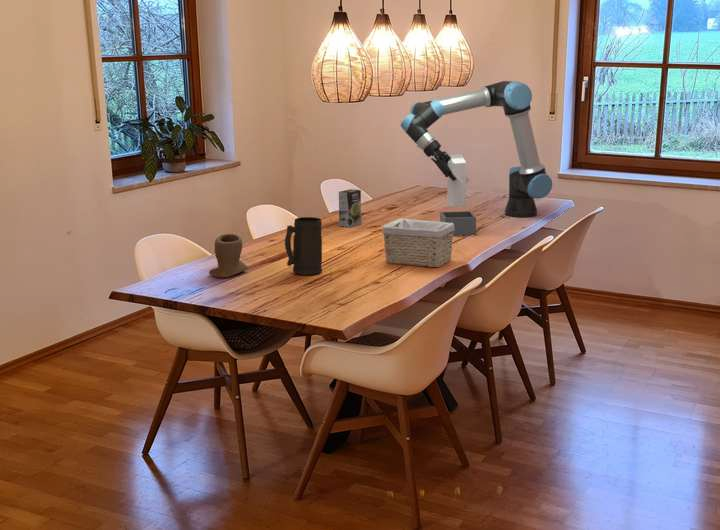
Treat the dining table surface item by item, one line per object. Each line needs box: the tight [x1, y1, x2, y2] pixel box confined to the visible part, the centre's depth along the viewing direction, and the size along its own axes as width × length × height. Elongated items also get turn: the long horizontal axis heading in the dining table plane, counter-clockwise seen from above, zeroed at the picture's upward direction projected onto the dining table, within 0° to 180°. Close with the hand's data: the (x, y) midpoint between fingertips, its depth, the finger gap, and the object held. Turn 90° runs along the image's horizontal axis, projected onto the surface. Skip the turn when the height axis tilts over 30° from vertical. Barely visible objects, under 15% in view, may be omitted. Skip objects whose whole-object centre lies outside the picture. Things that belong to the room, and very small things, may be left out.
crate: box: [439, 210, 477, 237], centre depth 372 cm, size 14×14×8 cm
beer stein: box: [284, 216, 323, 276], centre depth 310 cm, size 15×11×20 cm
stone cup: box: [208, 233, 249, 278], centre depth 312 cm, size 15×12×15 cm
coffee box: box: [338, 188, 362, 228], centre depth 390 cm, size 9×6×16 cm
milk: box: [446, 154, 467, 208], centre depth 367 cm, size 6×6×22 cm
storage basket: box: [381, 218, 455, 268], centre depth 325 cm, size 24×16×15 cm
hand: (464, 183), depth 366 cm, fingers closed on milk, 8 cm apart
